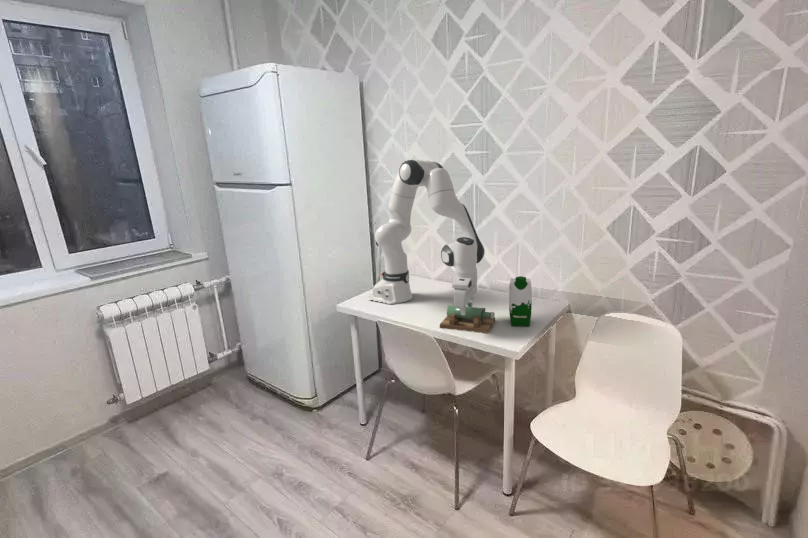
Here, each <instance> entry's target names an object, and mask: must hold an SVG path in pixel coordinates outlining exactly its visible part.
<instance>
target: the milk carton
mask: <svg viewBox="0 0 808 538" xmlns="http://www.w3.org/2000/svg"><path fill="white" fill-rule="evenodd" d="M532 289H533V287H532V283H531V279H530V278H527V277H526V276H524V275H523V276H522V275H521V276H519V275H518V276H516V277H515V278H510V281H509V286H508V290H509V291H508V311H509V312H508V314H509V319H510V326H511V327H525V328H526V327H530V325H531V319H532V308H533V307H532V305H533V303H532V302H533V300H532V299H533V296H532V295H533V294H532V293H533V292H532Z"/></svg>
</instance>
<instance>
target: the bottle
mask: <svg viewBox="0 0 808 538" xmlns="http://www.w3.org/2000/svg"><path fill="white" fill-rule="evenodd" d="M482 308H483V307H474V306H472V307H468V306H465V310H466V314H465V315H461V311H460V308H457V307H456V306H455V305H452V304H449V305H447V308H446V317H449V315H450V314H451V313H452V314H456V318H462V319H471V320H473V318H474V317H475V316H480V320H482V318H491V319H494V317H495V314H496V313H495V311H491V312H490V311H485V312H483V309H482ZM495 318H496V317H495Z"/></svg>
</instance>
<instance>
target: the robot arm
mask: <svg viewBox="0 0 808 538" xmlns="http://www.w3.org/2000/svg"><path fill="white" fill-rule="evenodd" d="M419 187H425V188H426V190H427V191H426V192H427V195H428V196H427V197H428V200H429V204H430V207H431V209H432V210H433V212H435V213H436V214H437V215H439V216H442V217H445V218H446V217H447V218H449V219H452V220H454V221H456V222H457V223H458V224H459V227H460V228H461V231H462V233H463V237H461V236H460V237H458V238H456V239H455V241H453V242H450V243H446V244H444V246H443V247H442V248H441V251H440V257H441V262H442V263H443V264H444V265H445V266H446V267H453V268H455V269H454V279H453V281H452V284H451V287H452V289H453V303H454V306H456V307H457V308H460V311H461V315H465V314H466V310H465V307H473V300H474V296H475V295H476V294H477V292H478V269H477V264H479V263H480V262H481V261H482V259H484V256H485V252H486V251H485V248H484V245H483V243H482V241H481V240H480V238H479V235H478V233H477V230H476V228H475V226H474V224H473V220H472V218H471V216H470V213H469V212H468V209H467V206H465V204H463V203H462V202H461V201H460V200H459V199H458V197H457V196H456V192H455V188H454V185H453V182H452V179H451V176H450V175H449V172H448V171H447V170H446V169H445V168H444V166H443V165H441V164H440V163H439V162H436V161H431V160H425V159H420V160H419V159H417V160H415V159H407V160H405V161H403V162H402V163H401V164H400V166H399V171H398V173H397V175H396V178H395V180H394V183H393V186H392V190H391V193H390V197H389V198H390V199H389V201H388V206H387V207H388V210H389V219H388V221H387V222H386V223H384V224H381V225H380V226H379V227H378V228H377V229H376V230H375V232H374V238H375V242H376V244H377V245H378V246H379V247H380V249H381V252H382V254H383V255H382V256H383V259H384V260H383V261H384V269H385V271H383V272H382V273H380V277H382V278H381V279H380V280H379V281H378V282H376V284H375V285H373V288H372V292H371V294H369V296H368V298H367V299H370V300H374V301H373V302H375V301H378V302H377V303H380V302H383V303H382V304H385V303H387V304H386V305H395V304H399V303H405V302H409V301H411V300H412V299H413V297H414V296H413V294H412V289H411V285H410V273H409V272H410V271H409V269H408V255H407V253H406V252H405V251H404V249H403V244H402V242H403V241H405V240H406V239H407V238H408V237H409V236H410V235H411V232H412V225H411V215H412V209H413V206H414V203H415V198H416V194H417V191H418V188H419ZM370 300H369V301H370Z"/></svg>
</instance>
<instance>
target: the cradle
mask: <svg viewBox="0 0 808 538" xmlns="http://www.w3.org/2000/svg"><path fill="white" fill-rule="evenodd" d="M481 308H482V309H483V312H486V308H484V307H481ZM495 322H496V317H494V319H491V318H482V320H480V316H475V317H474V318H473V320H471V319H462V318H456V314H452V313H451V314H450V315H449V317H447V316H446V317H445V318H443V320H442V321H441V322H440V324H439V329H446V328H447V330H454V329H457V330H456V331H463V330H467V331H466V332H471V331H474V332H473V333H480V332H482V333H481V334H489V333H490V331H491V329H492V328H493V326H494V324H495Z"/></svg>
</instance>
